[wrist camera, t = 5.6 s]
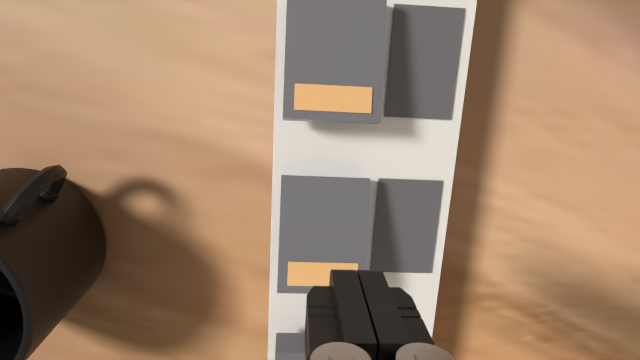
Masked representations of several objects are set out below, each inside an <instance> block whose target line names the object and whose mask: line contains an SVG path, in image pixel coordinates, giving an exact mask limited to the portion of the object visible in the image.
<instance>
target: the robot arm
mask: <svg viewBox="0 0 640 360" xmlns="http://www.w3.org/2000/svg"><path fill="white" fill-rule="evenodd" d="M304 342H305V360H455V359H454V357H453V356H452V355H451V354H450V353H448V352H447V351H445V350H444V349H442V348H440V347H438V346H435V344H434V342H433V340H432V338H431V336H430V334H429V332H428V330H427V328H426V325H425V323H424V321H423V319H421V315H420V313H419V311H418V310H417V307H416V305H415V303H414V301H413V298H412V297H411V296H410V295H409V294H408V293H406V292H405V291H404V290H403V289H402V288H400V287H389V286H388V283H387V281H386V278H385V276H384V273H383V271H382V270H357V271H356V270H338V269H331V271H330V280H329V286H313V287H312V289H311V290H310V291H309V293H308V294H307V299H306V320H305V340H304Z"/></svg>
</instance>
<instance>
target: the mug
mask: <svg viewBox="0 0 640 360" xmlns="http://www.w3.org/2000/svg"><path fill="white" fill-rule="evenodd" d="M66 176H67V172H66V170H65V169H64V168H63V167H61V166H60V165H56V166H50V167H46V168H44V169H43V170H41V171H37V170H32V169H24V168H8V169H1V170H0V360H27V359H28V357H29V356H30V355H31V354H32V353H33V352H34V351H35V349H36V348H37V347H38V346H39V345H40V344H41V343H42V341H43V340H44V339H45V338H46V337H47V336H48V335H49V333H50V332H51V331H52V330H53V329H54V328H55V327H56V325H57V324H58V323H59V322H60V321H61V320H62V319H63V317H64V316H65V315H66V314H67V313H68V312H69V311H70V309H71V308H72V307H73V306H74V305H75V304H76V303H77V301H78V300H79V299H80V298H81V297H82V296H83V295H84V293H85V292H86V291H87V290H88V289H89V288H90V287H91V285H92V284H93V283H94V282H95V280H96V279H97V277H98V276H99V274H100V272H101V269H102V267H103V264H104V259H105V252H106V241H105V235H104V230H103V227H102V224H101V221H100V219H99V217H98V215H97V213H96V211H95V209H94V208H93V207H92V205H91V204H90V202H89V201H88V200H87V199H86V198H85V197H84V196H83V195H82V194H81V193H80V192H79V191H78V190H77V189H75V188H74V187H73V186H71V185H70V184H68V183H67V182H65V179H66Z"/></svg>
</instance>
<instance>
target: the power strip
mask: <svg viewBox="0 0 640 360" xmlns="http://www.w3.org/2000/svg"><path fill="white" fill-rule="evenodd" d="M476 5H477V0H387V9H386V30H385V51H384V72H383V94H382V115H381V123H378V124H355V123H333V122H311V121H288V120H283V94H284V66H285V38H286V9H287V0H277V27H276V64H275V102H274V139H273V176H272V214H271V251H270V288H269V326H268V360H275V347H276V333H305V320H306V299H307V294H295V293H277V280H278V253H279V226H280V199H281V175H297V176H324V177H351V178H370V206H369V240H368V270H382V271H383V273H384V276H385V278H386V281H387V283H388V286H389V287H400V288H402V289H403V290H404V291H405V292H406V293H408V294H409V295H410V296H411V297H412V298H413V301H414V303H415V305H416V307H417V310H418V311H419V313H420V315H421V319H423V321H424V323H425V325H426V328H427V330H428V332H429V334H430V336H431V338H432V333H433V326H434V319H435V311H436V304H437V296H438V289H439V281H440V274H441V266H442V259H443V251H444V244H445V236H446V229H447V222H448V214H449V207H450V199H451V192H452V184H453V177H454V169H455V162H456V154H457V147H458V139H459V132H460V125H461V117H462V110H463V102H464V95H465V87H466V80H467V72H468V65H469V57H470V50H471V42H472V35H473V28H474V20H475V13H476Z"/></svg>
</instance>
